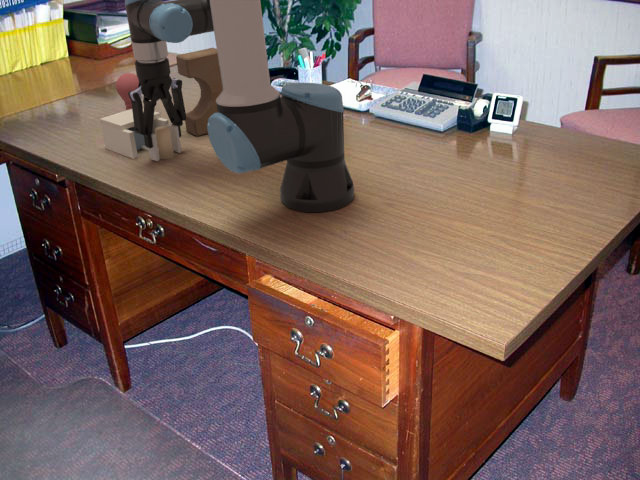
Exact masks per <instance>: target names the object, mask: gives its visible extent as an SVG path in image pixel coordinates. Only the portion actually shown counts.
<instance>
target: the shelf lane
mask: <svg viewBox="0 0 640 480" xmlns="http://www.w3.org/2000/svg"><path fill="white" fill-rule="evenodd" d="M143 111H144V107H143ZM99 122H100V126H101V133H102V137H103V143H104V148H105V149H106V150H108V151H111V152H114V153H116V154H119V155H122V156H124V157H127V158H130V159H133V160H134V159H138V157H139V156H138V150H137V149H136V144H135V138H134V132H133V131H130V130H127V129H128V128H131V127H134V120H133V111H132V109H130V110H126V109H125V110H122V111H120V112H118V113H114V114H111V115H107V116H104V117H102V118H101V117H100V119H99ZM168 125H170V123H169V119H166V118H163V117H161V113H160V112H158V111H156V110H154V120H153V130H152V133H153V134H156V133H155V129H156V128H158V127H163V126H166V127H169V126H168ZM156 141H157V139H156Z"/></svg>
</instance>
